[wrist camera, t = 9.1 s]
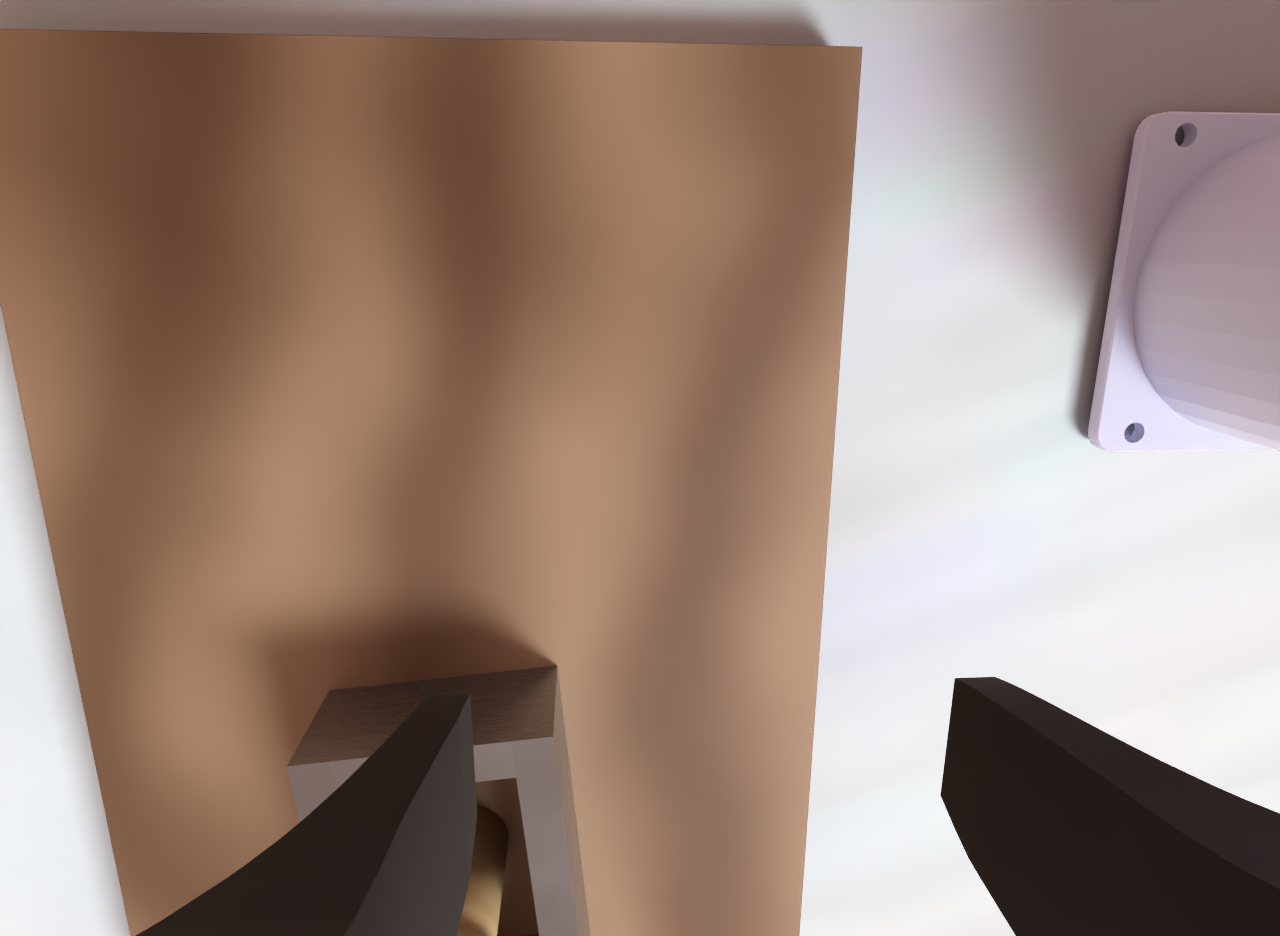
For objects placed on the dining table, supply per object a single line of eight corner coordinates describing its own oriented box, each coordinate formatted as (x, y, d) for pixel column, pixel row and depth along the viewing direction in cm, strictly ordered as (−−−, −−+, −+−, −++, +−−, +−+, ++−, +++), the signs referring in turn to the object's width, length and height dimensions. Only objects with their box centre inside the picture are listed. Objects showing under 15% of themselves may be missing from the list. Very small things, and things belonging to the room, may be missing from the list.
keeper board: (839, 61, 18) (962, -22, 12) (784, 926, 25) (846, 1140, 19) (-2, 45, 17) (-309, -56, 11) (172, 959, 24) (36, 1198, 18)
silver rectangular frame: (557, 665, 20) (553, 736, 17) (592, 953, 23) (594, 1057, 20) (329, 690, 20) (286, 766, 17) (390, 978, 22) (362, 1087, 20)
